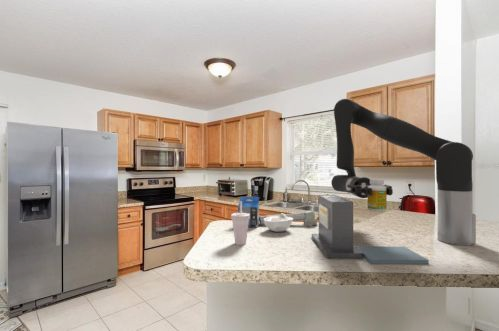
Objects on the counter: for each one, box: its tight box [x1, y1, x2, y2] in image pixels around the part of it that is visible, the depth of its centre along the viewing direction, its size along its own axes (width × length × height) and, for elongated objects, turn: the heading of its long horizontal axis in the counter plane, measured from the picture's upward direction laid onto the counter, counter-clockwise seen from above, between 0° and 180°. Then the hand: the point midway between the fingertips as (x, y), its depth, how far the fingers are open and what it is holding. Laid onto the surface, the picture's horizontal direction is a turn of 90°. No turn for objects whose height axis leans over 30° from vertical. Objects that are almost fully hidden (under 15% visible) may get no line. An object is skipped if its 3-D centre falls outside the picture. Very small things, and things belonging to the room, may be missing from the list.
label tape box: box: [237, 196, 260, 228], centre depth 110 cm, size 9×4×12 cm, turn 76°
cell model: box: [264, 212, 294, 233], centre depth 102 cm, size 10×12×7 cm
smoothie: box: [230, 200, 250, 246], centre depth 86 cm, size 6×6×14 cm
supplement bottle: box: [367, 178, 388, 212], centre depth 81 cm, size 5×5×10 cm
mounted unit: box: [311, 194, 364, 260], centre depth 81 cm, size 10×20×16 cm, turn 179°
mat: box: [354, 245, 430, 265], centre depth 73 cm, size 15×11×1 cm
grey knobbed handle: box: [259, 210, 318, 227], centre depth 112 cm, size 5×7×25 cm
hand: (380, 191), depth 79 cm, fingers closed on supplement bottle, 5 cm apart
